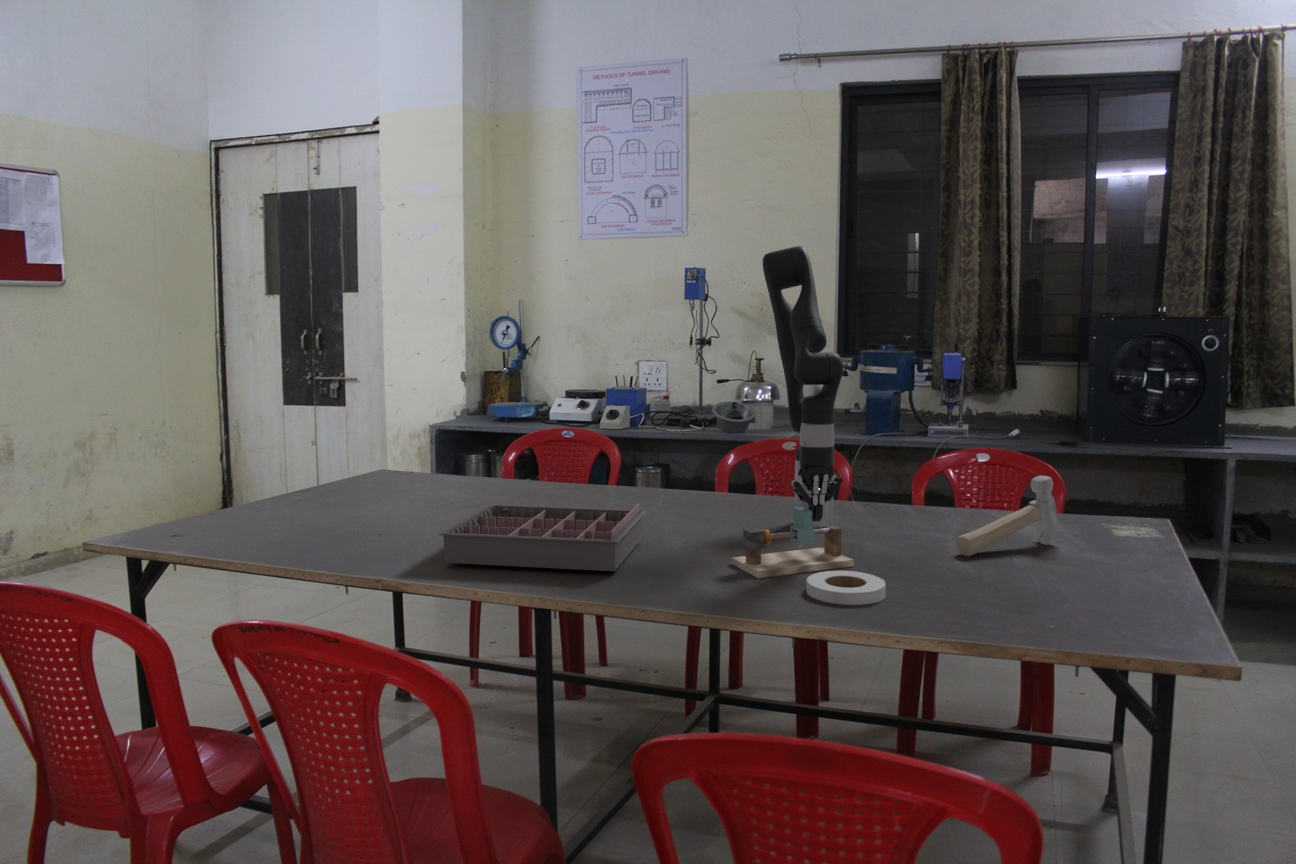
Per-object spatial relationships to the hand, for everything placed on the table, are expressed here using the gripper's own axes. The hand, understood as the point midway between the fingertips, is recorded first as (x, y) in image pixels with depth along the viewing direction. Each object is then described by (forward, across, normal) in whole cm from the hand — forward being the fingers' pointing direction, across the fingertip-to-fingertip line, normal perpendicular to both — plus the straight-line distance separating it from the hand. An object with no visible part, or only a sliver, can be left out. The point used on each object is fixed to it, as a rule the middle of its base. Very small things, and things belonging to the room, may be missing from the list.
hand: (815, 520), depth 208 cm
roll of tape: (+10, +7, +22) cm, 25 cm away
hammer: (+10, -49, +7) cm, 51 cm away
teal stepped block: (+4, +3, 0) cm, 5 cm away
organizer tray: (+10, +52, -30) cm, 62 cm away
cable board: (+10, +6, 0) cm, 11 cm away
